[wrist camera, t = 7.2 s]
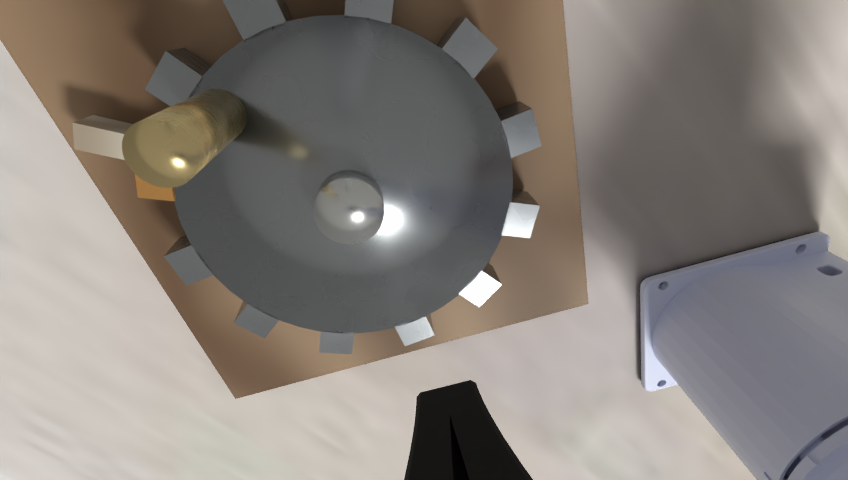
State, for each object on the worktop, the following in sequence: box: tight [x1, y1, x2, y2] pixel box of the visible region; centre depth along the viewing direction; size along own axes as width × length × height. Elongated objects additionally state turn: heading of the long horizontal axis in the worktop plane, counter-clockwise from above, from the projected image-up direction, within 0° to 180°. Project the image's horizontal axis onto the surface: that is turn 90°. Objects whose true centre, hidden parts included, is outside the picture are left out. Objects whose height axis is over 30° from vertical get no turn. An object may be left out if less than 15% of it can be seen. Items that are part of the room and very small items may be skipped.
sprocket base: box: [0, 0, 588, 399], centre depth 17 cm, size 18×18×2 cm
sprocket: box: [122, 0, 541, 354], centre depth 14 cm, size 14×14×6 cm
